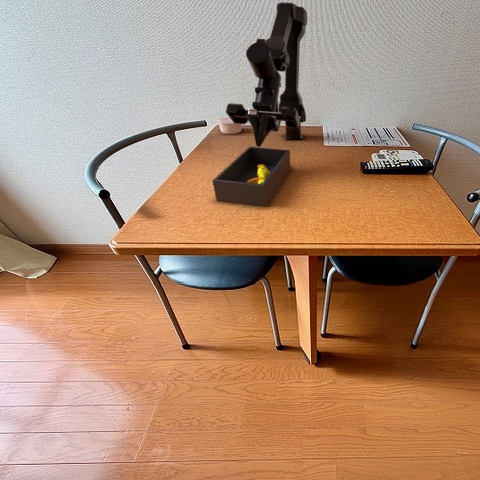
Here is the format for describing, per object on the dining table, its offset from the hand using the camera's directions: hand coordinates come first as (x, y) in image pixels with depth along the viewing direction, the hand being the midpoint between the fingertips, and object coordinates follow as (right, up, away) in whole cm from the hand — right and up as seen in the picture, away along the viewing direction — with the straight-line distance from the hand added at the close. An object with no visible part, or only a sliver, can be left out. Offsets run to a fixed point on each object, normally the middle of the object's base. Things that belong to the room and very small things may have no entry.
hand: (258, 145), depth 75 cm
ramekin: (-19, +18, +38) cm, 46 cm away
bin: (-1, -9, +3) cm, 10 cm away
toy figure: (0, -4, +6) cm, 7 cm away
